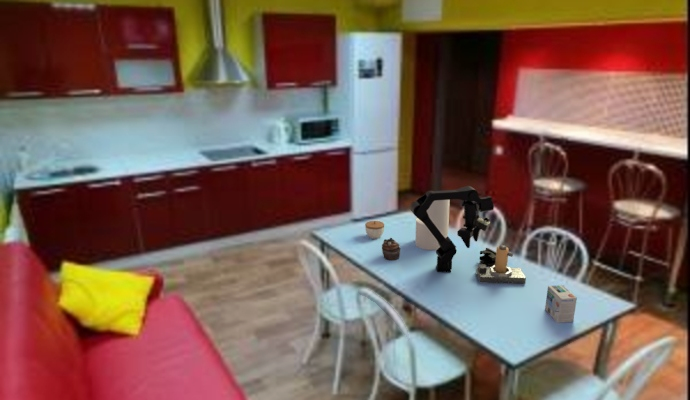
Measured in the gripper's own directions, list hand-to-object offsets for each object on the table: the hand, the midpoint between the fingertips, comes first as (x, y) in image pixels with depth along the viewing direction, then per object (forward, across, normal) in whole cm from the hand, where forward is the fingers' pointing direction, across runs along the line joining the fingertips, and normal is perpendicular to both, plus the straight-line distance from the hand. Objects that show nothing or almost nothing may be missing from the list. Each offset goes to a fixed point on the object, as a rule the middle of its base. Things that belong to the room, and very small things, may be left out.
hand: (472, 244), depth 227 cm
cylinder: (+10, +16, +31) cm, 36 cm away
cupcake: (+8, -11, +40) cm, 42 cm away
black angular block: (+14, +11, -5) cm, 18 cm away
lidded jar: (+6, +7, +62) cm, 62 cm away
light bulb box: (+18, -19, -43) cm, 51 cm away
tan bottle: (+11, -2, -14) cm, 18 cm away
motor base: (+14, -2, -14) cm, 20 cm away
